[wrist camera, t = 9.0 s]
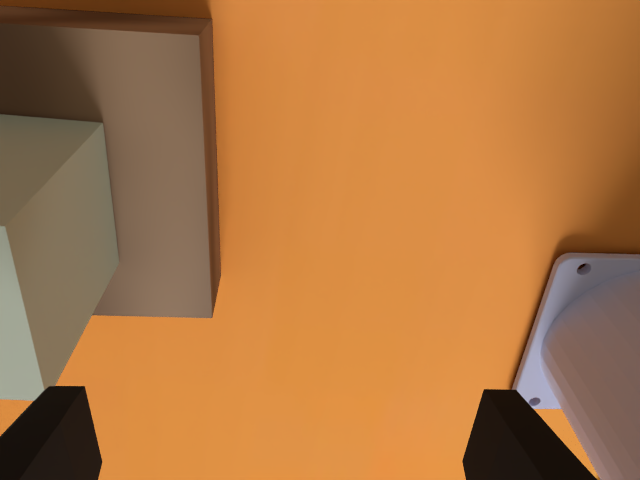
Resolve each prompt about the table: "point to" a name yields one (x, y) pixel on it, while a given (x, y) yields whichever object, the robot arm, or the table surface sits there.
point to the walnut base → (133, 139)
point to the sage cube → (50, 245)
